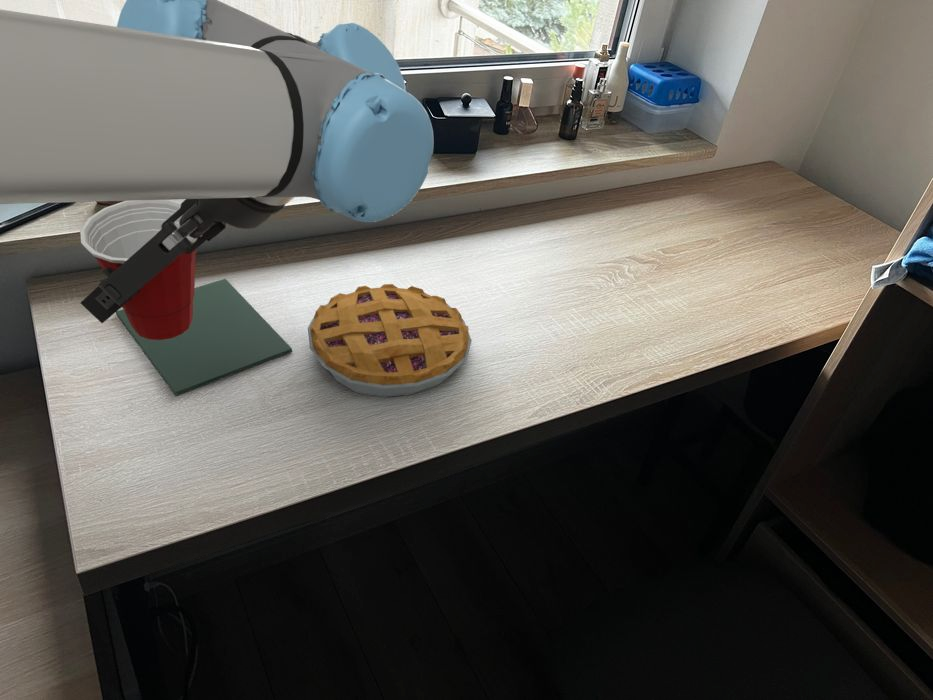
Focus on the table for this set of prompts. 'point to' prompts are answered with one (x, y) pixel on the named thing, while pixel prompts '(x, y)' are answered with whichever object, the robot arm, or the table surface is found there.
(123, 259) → the plastic cup
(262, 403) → the table surface
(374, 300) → the pie
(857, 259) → the table surface
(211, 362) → the placemat
